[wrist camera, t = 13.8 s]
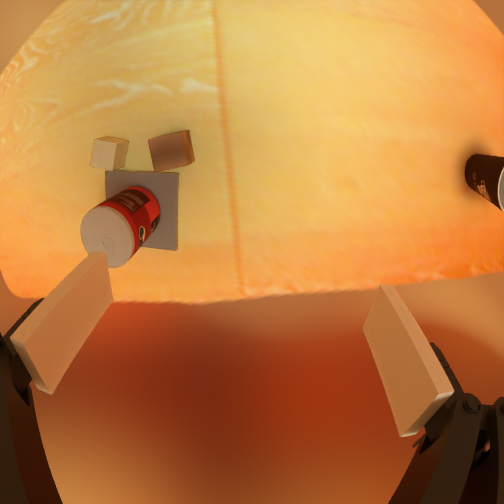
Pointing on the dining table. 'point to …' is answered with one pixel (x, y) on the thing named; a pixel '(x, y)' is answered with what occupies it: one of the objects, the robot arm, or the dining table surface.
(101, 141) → the beige block
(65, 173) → the dining table surface
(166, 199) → the slate coaster
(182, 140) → the walnut block
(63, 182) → the dining table surface
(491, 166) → the coffee mug
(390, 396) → the robot arm
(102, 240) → the canned food
